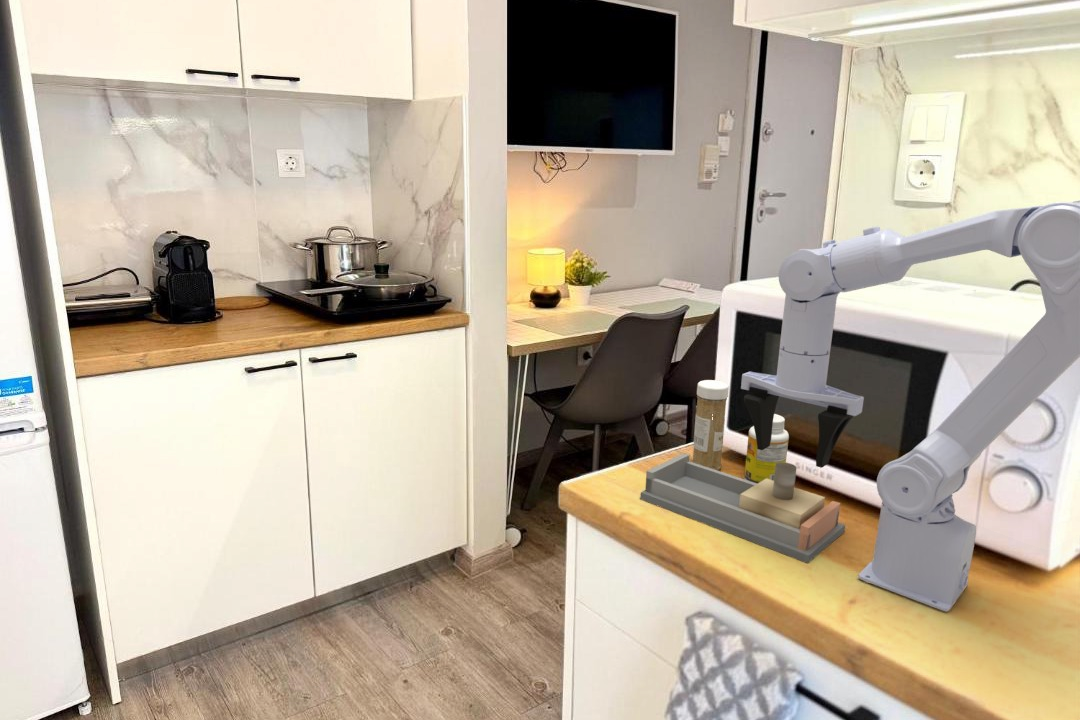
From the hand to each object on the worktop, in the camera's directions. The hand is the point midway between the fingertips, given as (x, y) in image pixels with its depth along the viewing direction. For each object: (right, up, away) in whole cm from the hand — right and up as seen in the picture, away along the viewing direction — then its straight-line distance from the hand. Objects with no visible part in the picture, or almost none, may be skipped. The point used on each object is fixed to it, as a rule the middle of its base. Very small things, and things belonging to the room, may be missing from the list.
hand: (791, 456), depth 94 cm
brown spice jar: (-6, -5, +22) cm, 23 cm away
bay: (-5, -9, +7) cm, 12 cm away
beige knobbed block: (-1, -9, +3) cm, 9 cm away
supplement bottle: (+1, -6, +17) cm, 18 cm away
